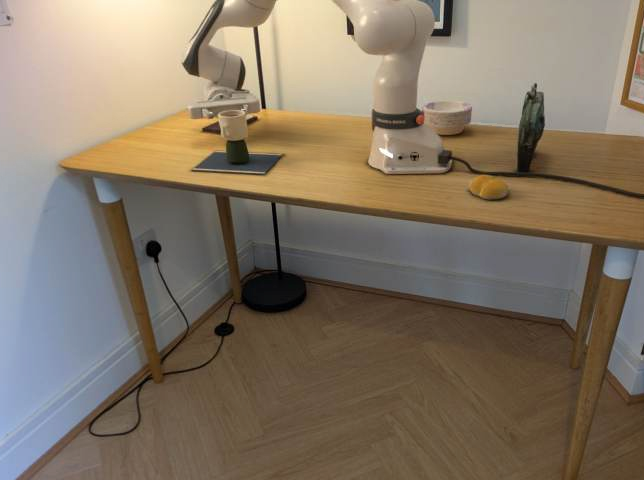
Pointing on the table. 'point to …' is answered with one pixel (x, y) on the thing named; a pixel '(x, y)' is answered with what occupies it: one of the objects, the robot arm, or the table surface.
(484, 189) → the bread roll
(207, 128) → the chocolate bar
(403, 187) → the table surface
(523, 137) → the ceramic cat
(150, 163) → the table surface
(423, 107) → the paper bowls
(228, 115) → the character mug
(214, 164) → the napkin
